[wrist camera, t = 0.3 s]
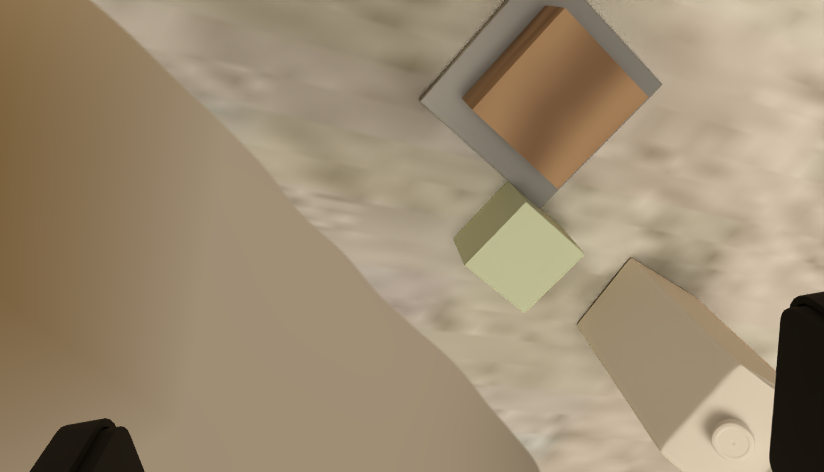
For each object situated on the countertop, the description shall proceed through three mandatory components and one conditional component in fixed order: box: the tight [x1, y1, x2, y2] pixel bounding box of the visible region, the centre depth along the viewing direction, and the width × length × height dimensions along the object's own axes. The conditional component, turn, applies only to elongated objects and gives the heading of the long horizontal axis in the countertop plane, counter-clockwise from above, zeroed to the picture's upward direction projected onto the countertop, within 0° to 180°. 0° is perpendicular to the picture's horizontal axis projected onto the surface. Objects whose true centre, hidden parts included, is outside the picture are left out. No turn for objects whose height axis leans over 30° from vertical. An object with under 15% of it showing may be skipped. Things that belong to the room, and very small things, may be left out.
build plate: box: [419, 0, 662, 209], centre depth 43 cm, size 12×12×1 cm
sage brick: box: [454, 181, 585, 313], centre depth 45 cm, size 6×6×5 cm
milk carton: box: [578, 258, 776, 472], centre depth 42 cm, size 7×7×19 cm
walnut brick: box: [462, 5, 648, 189], centre depth 41 cm, size 8×8×4 cm
